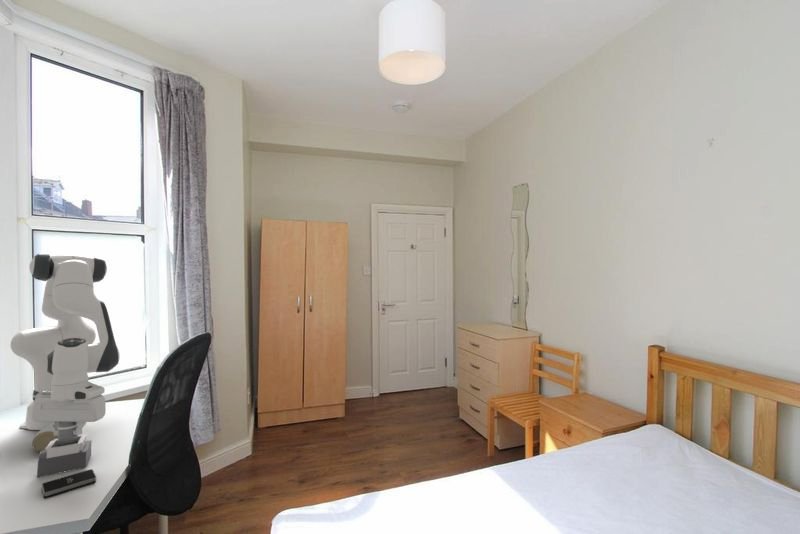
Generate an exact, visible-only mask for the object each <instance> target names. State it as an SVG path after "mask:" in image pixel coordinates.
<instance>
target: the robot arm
mask: <svg viewBox="0 0 800 534" xmlns="http://www.w3.org/2000/svg"><path fill="white" fill-rule="evenodd" d="M28 267H29V273H30V274H31V277H32V278H34V279H35V280H38V281H43V282H46V283H45V286H44V292H43V297H42V303H41V304H42V305H41V312H42V314H43V315H44V316H45V317H47V318H49V319H52V320H56V321H57V325H55V326H46V327H45V326H44V327H33V328H29V329H25V330H20V331H18V332H16V334H14V335H13V337H12V338H11V341H10V349H11V352H12V353H13V354H14V355H16V356H17V357H20V358H22V359H24V360H25V361H26V362H28V363H29V364H30V365H31V367H32V370H33V372H34V390H32V402H31V403H29V404H28V405H27V407H26V414H25V422H23V423H21V424H19V429H27V430H31V431H40V430H41V428H42V427H43V426H45V425H46V424H48V423H50V426H51V427H52V429H53V430H54V436H56V435H58V430H59V429H58V426H59V422H77V425H78V427H77V429H75V430H73V435H74V436H79V435H83V428H84V427H85V426H86V424H87V423H93V422H94V423H95V422H98V421H99V420H101V419H103V418H104V417H105V415H106V412H107V411H106V408H107V407H106V405H107V403H106V398H105V396H104V395H103V394H104V393H105V387H104V386H101V385H98V384H96V383H92V382H91V381H89V374H91V373H108V372H110V371H111V370H113V369H114V368H115V367H116V366H118V365H119V362H120V358H121V357H120V355H121V354H120V351H119V348H118V346H117V343H116V339H115V336H114V331H113V328H112V324H111V321H110V320H111V318H110V316H109V312H108V309H107V305H106V304H105V302H104V301H102V300H99V299H98V298H97V296H96V294H95V293H94V291H95V290H94V283H99V282H100V281H102V280H104V279H105V276H106V275H107V273H108V267H107V263H106V260H105V259H103V258H102V257H100V256H94V255H93V256H90V255H83V254H79V253H78V254H76V253H50V252H41V253H37V254H36V255H34V257H33V258H32V259H31V261H30V263H29V266H28ZM82 318H86V319H88V320H91V322H93V323H94V325H95V328H96V330H97V335H98V339H99V342H97V343H94V342H95V341H96V337H97V336H96V331H95V329H94V328H93V327H92V326H91V325H89V324H88V323H86V322H85V321H84V320H83V319H82Z"/></svg>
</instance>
